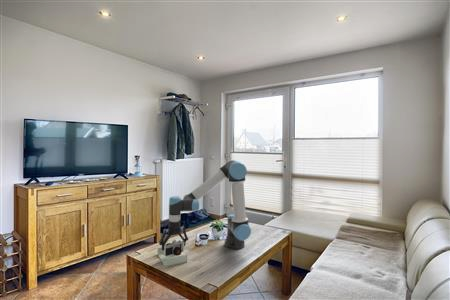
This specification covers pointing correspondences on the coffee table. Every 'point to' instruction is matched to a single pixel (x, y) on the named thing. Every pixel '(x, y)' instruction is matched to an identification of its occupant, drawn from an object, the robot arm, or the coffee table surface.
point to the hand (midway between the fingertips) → (173, 253)
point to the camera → (173, 248)
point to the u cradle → (171, 258)
